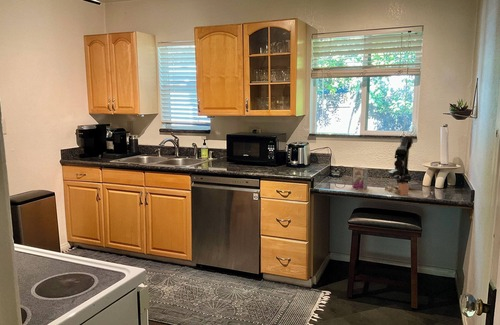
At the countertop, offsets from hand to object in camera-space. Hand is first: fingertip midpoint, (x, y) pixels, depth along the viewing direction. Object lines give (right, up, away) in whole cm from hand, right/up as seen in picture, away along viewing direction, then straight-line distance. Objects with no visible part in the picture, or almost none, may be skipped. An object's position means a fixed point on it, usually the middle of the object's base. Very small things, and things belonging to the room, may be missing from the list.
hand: (399, 187), depth 291 cm
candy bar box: (-23, -2, +20) cm, 31 cm away
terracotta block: (+1, -5, -4) cm, 6 cm away
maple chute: (-1, -4, +4) cm, 6 cm away
